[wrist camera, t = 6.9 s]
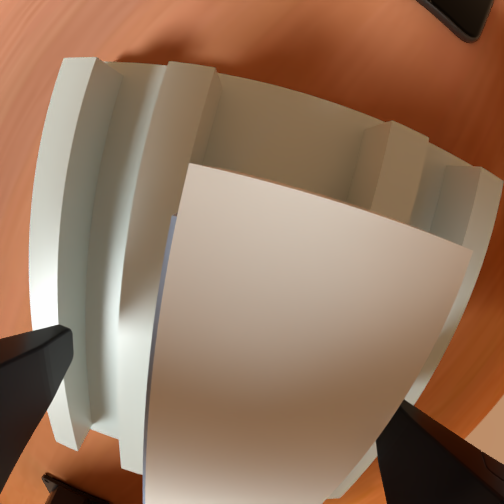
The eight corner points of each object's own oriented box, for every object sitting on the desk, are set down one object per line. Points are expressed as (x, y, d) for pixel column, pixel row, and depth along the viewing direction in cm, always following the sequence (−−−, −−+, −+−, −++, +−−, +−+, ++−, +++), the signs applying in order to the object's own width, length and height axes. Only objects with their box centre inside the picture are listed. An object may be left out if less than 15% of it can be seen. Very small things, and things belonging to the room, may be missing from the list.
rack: (329, 461, 14) (339, 502, 11) (77, 408, 13) (54, 445, 10) (459, 165, 10) (509, 169, 7) (105, 68, 9) (64, 43, 6)
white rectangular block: (239, 430, 11) (235, 576, 5) (179, 417, 11) (145, 562, 4) (317, 193, 9) (476, 252, 2) (233, 170, 9) (182, 162, 2)
